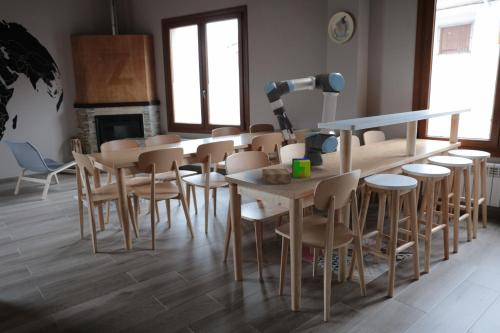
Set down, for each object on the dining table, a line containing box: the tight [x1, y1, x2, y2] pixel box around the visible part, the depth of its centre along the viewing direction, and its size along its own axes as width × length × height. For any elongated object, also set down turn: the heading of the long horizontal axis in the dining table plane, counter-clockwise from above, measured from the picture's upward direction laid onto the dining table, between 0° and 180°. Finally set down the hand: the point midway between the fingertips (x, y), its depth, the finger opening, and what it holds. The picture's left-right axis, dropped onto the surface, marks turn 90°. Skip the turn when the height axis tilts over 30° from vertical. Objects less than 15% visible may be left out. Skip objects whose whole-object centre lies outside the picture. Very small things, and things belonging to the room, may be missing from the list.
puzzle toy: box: [291, 157, 311, 178], centre depth 253 cm, size 10×10×10 cm
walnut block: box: [261, 168, 292, 185], centre depth 240 cm, size 15×15×6 cm
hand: (290, 139), depth 249 cm, fingers open, 13 cm apart
